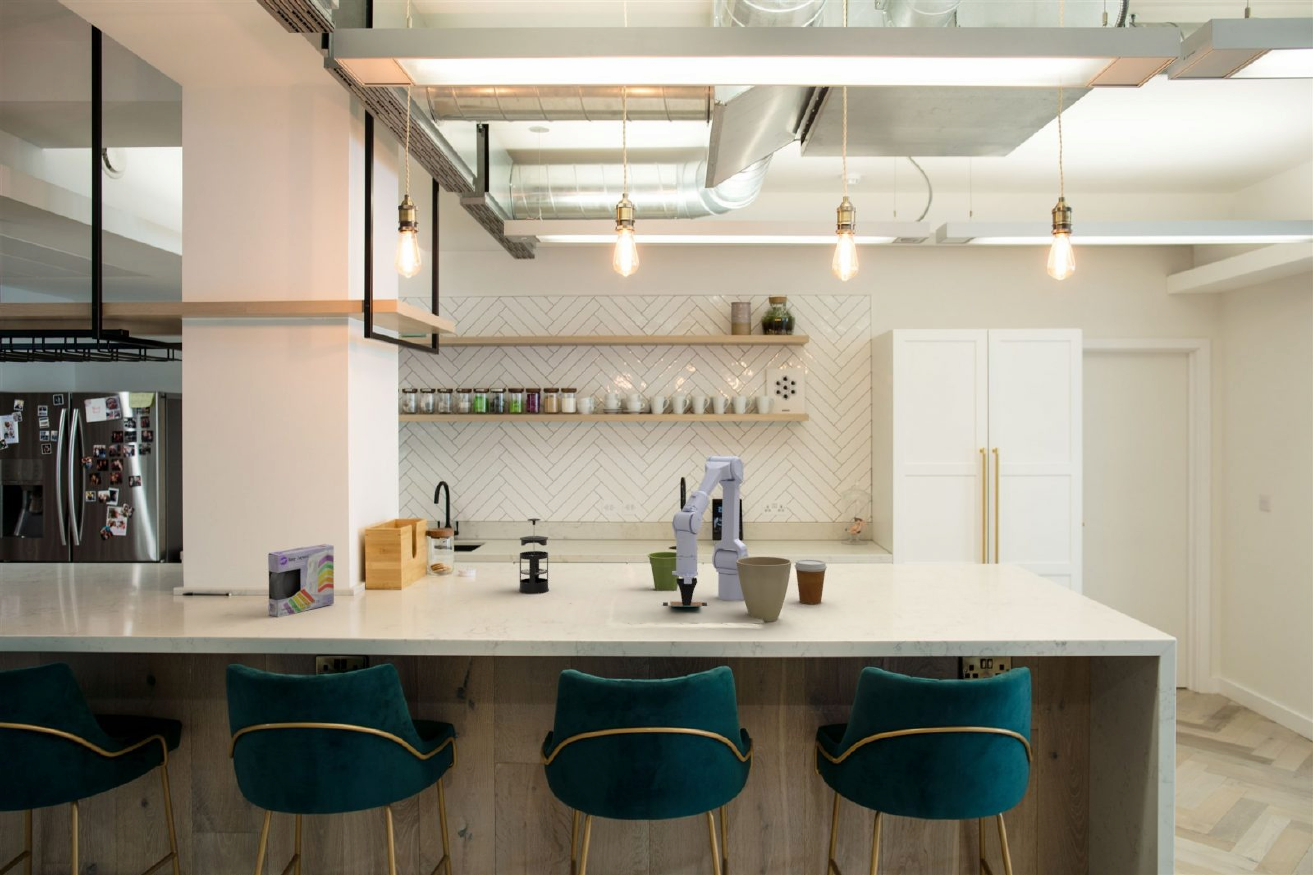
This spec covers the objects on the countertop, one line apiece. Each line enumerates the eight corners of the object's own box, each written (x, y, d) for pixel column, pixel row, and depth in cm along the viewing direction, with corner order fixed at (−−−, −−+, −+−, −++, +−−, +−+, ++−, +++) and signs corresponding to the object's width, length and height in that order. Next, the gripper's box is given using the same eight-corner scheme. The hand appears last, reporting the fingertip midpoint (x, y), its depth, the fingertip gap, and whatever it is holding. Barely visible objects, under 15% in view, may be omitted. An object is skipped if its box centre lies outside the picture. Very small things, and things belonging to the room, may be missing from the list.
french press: (547, 594, 251) (547, 520, 251) (516, 594, 251) (516, 520, 250) (550, 586, 263) (550, 516, 262) (521, 586, 262) (521, 516, 262)
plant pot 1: (645, 586, 264) (645, 551, 264) (681, 585, 266) (681, 551, 265) (649, 593, 253) (649, 557, 252) (686, 593, 254) (686, 557, 254)
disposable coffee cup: (791, 603, 239) (791, 563, 238) (798, 597, 248) (798, 558, 247) (823, 606, 235) (823, 565, 235) (829, 600, 244) (829, 560, 244)
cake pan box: (274, 618, 219) (274, 553, 219) (263, 616, 221) (263, 552, 221) (335, 605, 235) (335, 544, 235) (324, 603, 238) (324, 543, 238)
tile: (700, 601, 231) (701, 602, 222) (700, 605, 231) (702, 606, 222) (670, 600, 231) (670, 602, 222) (670, 605, 231) (670, 606, 222)
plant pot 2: (780, 611, 229) (781, 555, 229) (798, 624, 214) (799, 564, 214) (729, 613, 226) (730, 556, 226) (744, 626, 212) (744, 566, 211)
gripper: (671, 551, 227) (671, 599, 228) (672, 560, 213) (672, 611, 213) (696, 551, 227) (696, 599, 228) (699, 560, 213) (699, 611, 213)
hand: (686, 605), depth 220 cm, fingers closed
